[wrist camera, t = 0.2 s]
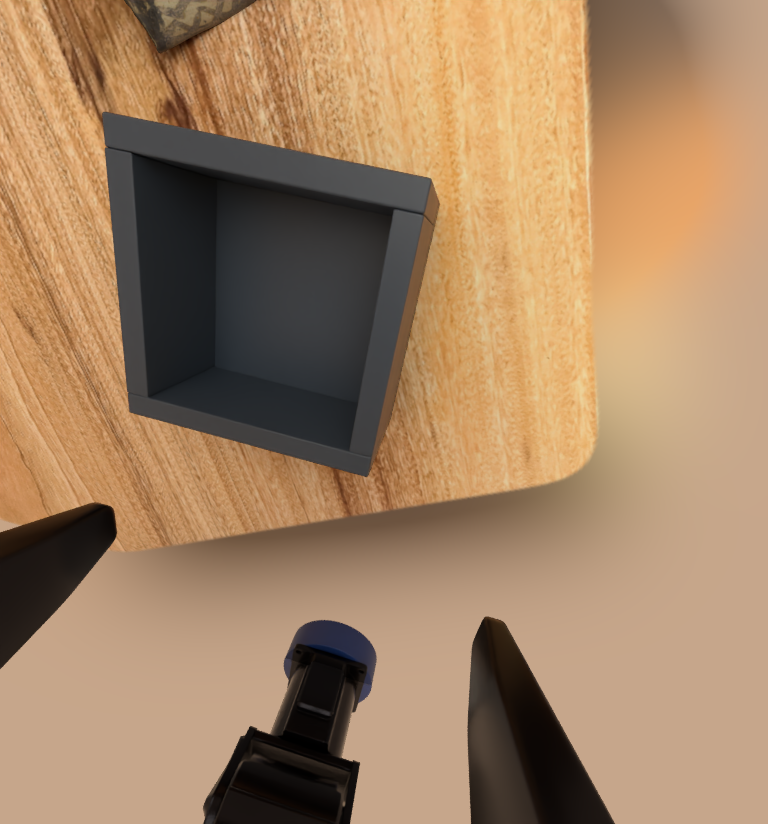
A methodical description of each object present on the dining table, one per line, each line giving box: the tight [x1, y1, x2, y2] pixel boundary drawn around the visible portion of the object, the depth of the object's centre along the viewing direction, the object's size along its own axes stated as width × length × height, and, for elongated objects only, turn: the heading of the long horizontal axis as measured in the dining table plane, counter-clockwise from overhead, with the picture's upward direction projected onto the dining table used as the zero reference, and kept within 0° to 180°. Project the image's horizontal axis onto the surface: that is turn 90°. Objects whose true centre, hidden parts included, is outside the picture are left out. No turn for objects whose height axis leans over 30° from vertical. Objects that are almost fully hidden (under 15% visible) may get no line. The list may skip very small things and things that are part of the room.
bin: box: [102, 112, 440, 477], centre depth 17 cm, size 11×11×6 cm
